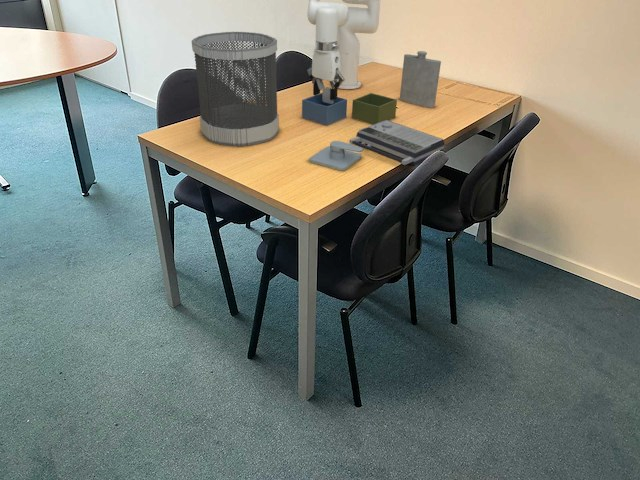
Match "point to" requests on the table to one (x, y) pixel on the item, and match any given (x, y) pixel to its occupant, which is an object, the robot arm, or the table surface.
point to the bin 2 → (374, 108)
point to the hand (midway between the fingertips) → (325, 96)
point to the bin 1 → (323, 110)
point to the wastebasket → (240, 118)
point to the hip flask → (419, 80)
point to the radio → (398, 142)
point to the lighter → (324, 92)
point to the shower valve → (337, 155)
